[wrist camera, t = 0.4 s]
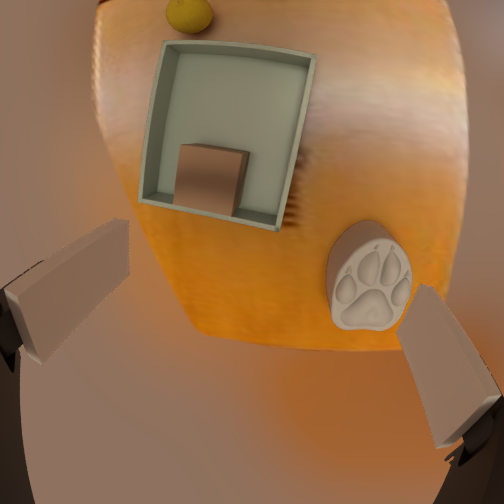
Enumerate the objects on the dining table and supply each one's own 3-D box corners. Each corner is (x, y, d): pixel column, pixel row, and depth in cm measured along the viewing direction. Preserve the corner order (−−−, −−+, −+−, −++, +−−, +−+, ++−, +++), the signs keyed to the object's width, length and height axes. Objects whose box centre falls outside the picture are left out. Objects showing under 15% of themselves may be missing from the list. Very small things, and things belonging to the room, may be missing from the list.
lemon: (182, 45, 29) (157, 27, 22) (178, 15, 27) (154, -6, 20) (221, 34, 28) (204, 11, 21) (216, 4, 26) (199, -21, 19)
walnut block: (197, 143, 34) (180, 144, 29) (250, 151, 34) (242, 154, 28) (190, 194, 37) (172, 204, 31) (240, 204, 36) (231, 216, 31)
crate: (178, 50, 30) (163, 40, 25) (314, 66, 29) (317, 55, 24) (154, 194, 38) (137, 202, 34) (280, 220, 37) (279, 232, 33)
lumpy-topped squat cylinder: (321, 300, 41) (326, 337, 33) (333, 216, 36) (344, 239, 28) (384, 303, 40) (400, 338, 32) (403, 224, 35) (429, 246, 27)
